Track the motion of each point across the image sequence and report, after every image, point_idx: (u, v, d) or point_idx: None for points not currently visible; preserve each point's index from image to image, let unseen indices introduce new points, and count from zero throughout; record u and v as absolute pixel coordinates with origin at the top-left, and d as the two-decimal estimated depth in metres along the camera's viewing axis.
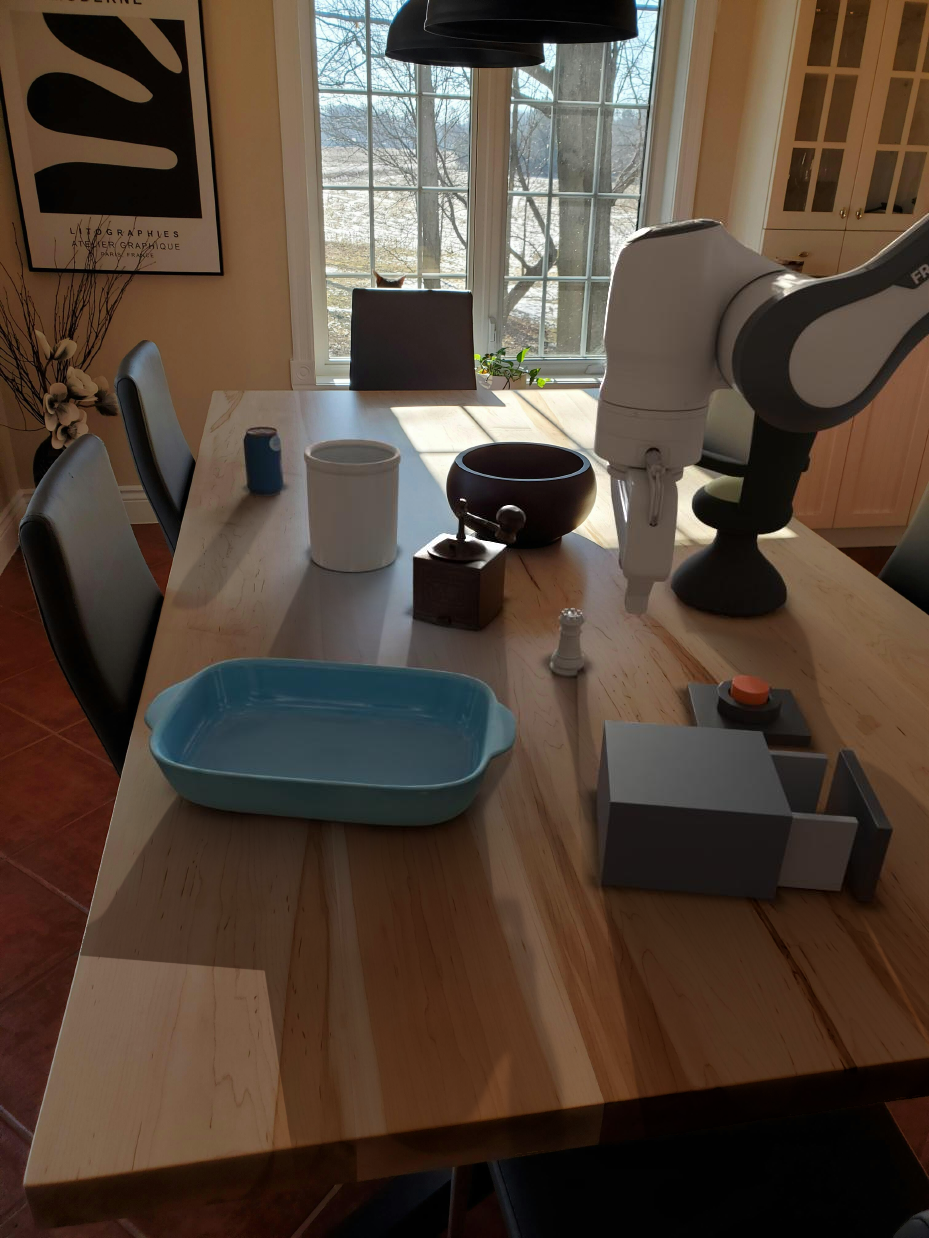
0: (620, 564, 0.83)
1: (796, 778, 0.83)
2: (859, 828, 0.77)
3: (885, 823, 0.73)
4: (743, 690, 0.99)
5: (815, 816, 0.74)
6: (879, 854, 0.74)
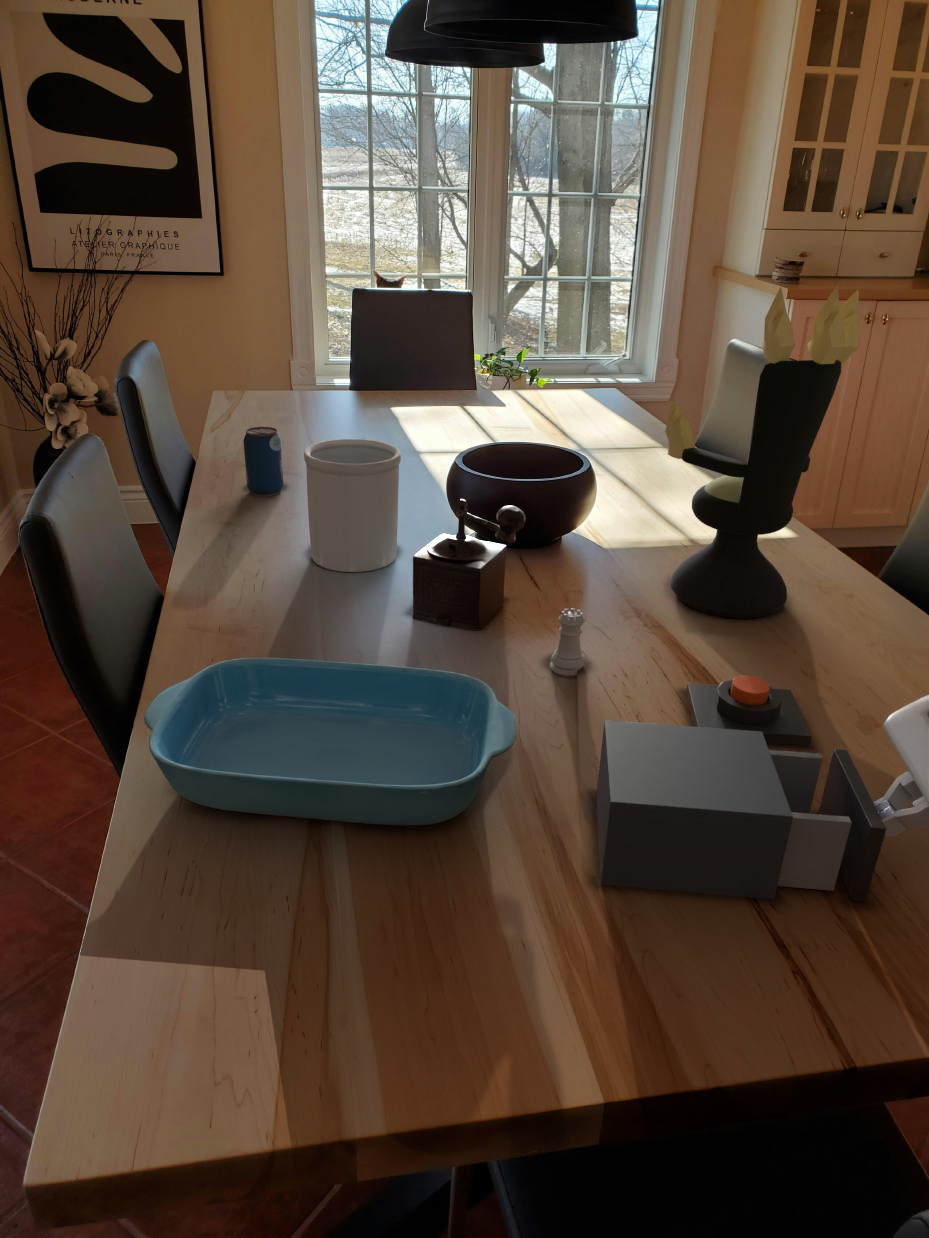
0: None
1: (791, 778, 0.83)
2: (852, 827, 0.77)
3: (878, 822, 0.73)
4: (743, 690, 0.99)
5: (808, 815, 0.74)
6: (872, 853, 0.74)
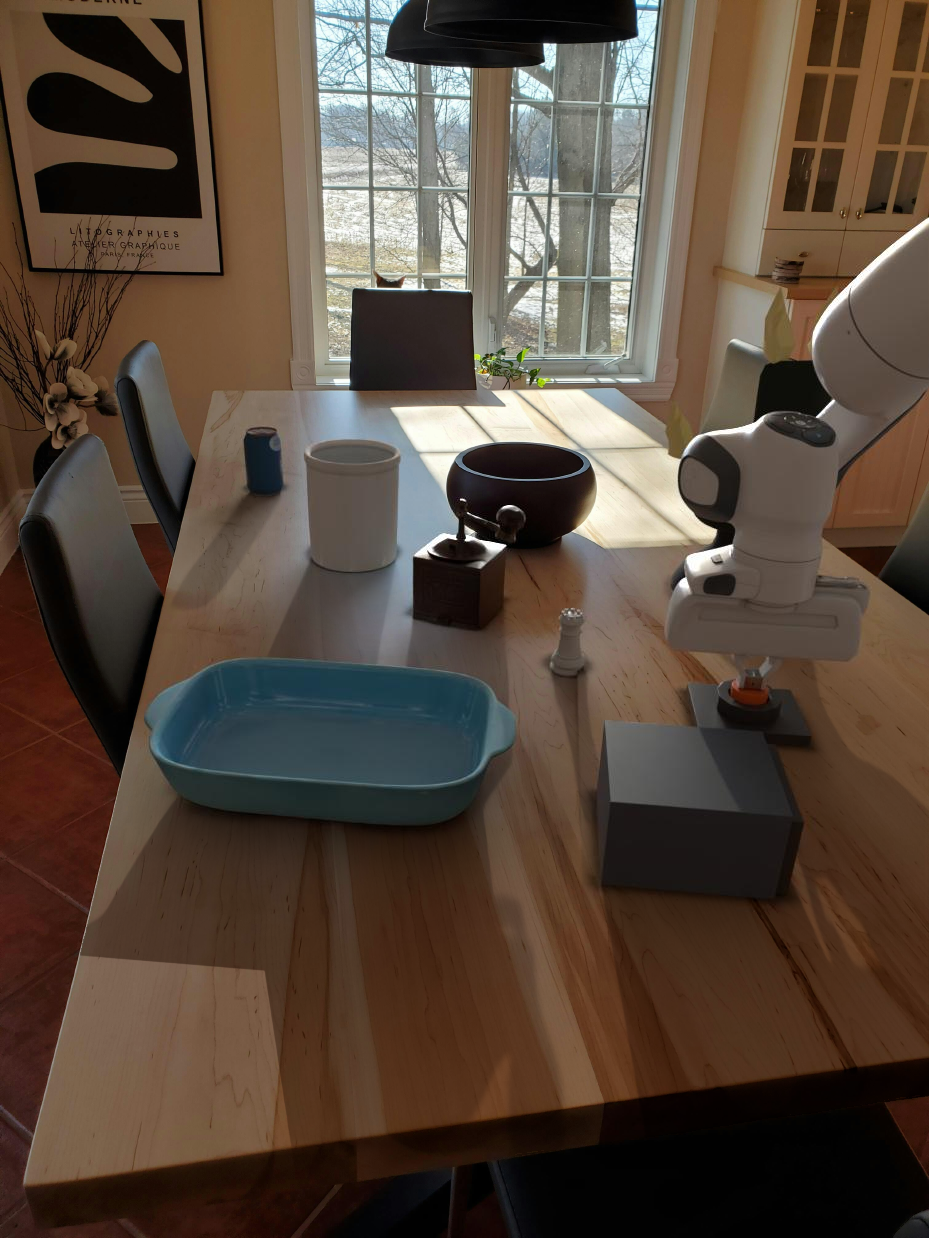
0: (752, 686, 0.99)
1: None
2: None
3: (797, 816, 0.74)
4: (743, 693, 0.99)
5: None
6: (791, 846, 0.74)
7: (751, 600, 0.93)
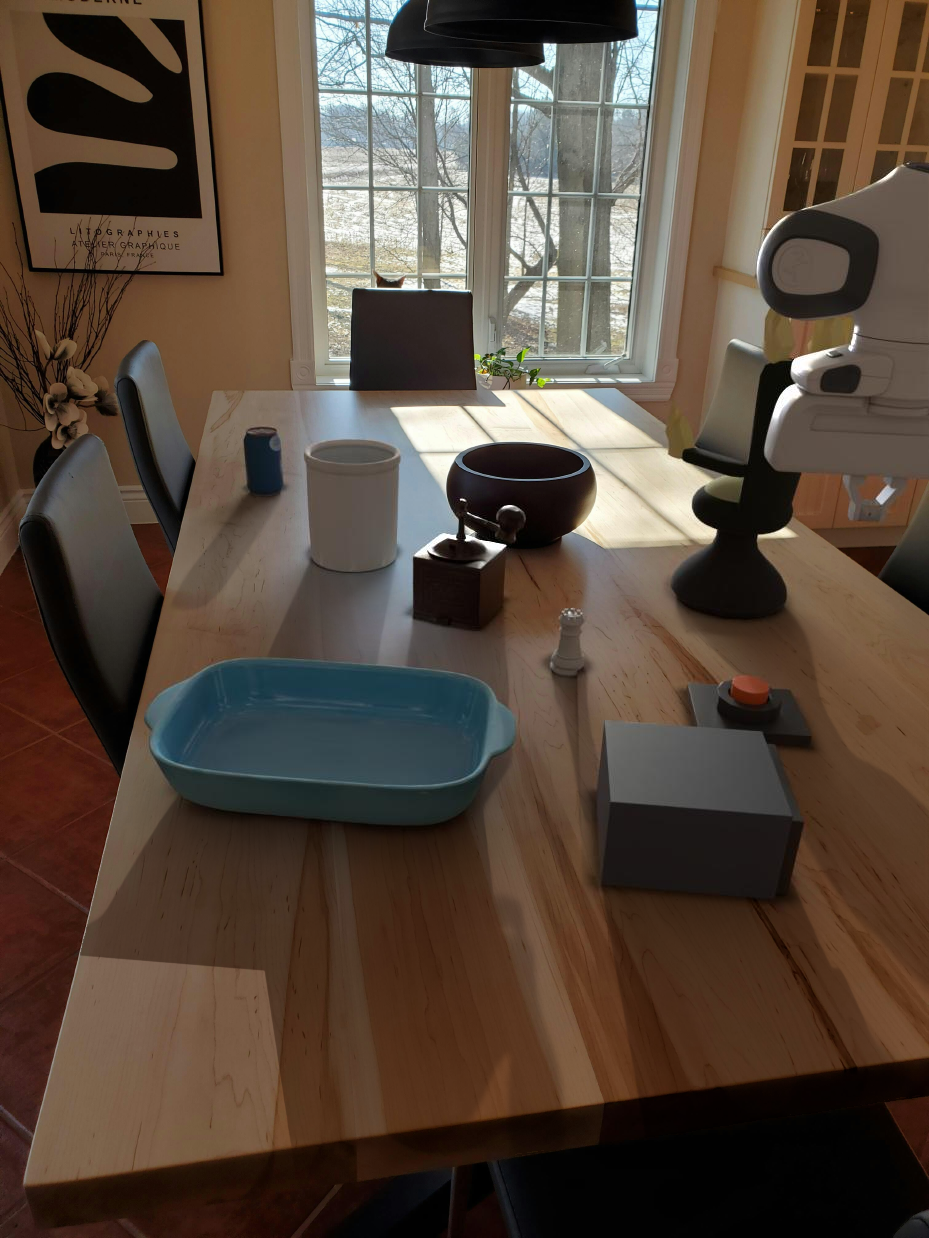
0: (868, 517, 0.84)
1: None
2: None
3: (797, 816, 0.74)
4: (743, 690, 0.99)
5: None
6: (791, 846, 0.74)
7: (876, 401, 0.78)
